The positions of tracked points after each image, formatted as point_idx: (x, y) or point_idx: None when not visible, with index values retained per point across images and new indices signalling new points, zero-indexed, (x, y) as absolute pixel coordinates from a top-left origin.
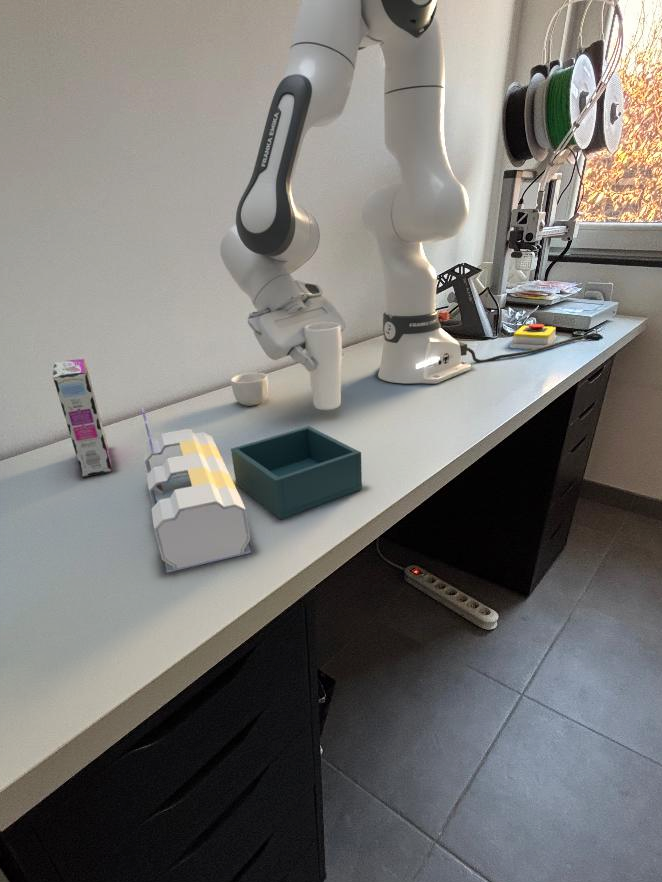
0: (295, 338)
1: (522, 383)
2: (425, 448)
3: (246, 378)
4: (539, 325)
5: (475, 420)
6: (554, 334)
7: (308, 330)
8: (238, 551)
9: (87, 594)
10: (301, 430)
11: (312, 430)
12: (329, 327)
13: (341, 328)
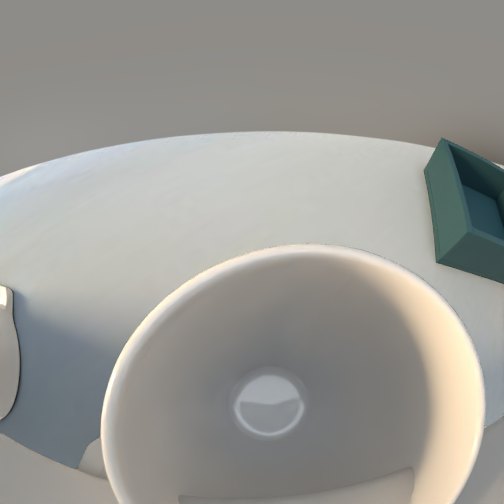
0: (499, 446)
1: (14, 193)
2: (291, 159)
3: None
4: None
5: (154, 160)
6: None
7: (481, 424)
8: None
9: None
10: (480, 230)
11: (468, 214)
12: (142, 471)
13: (14, 441)
